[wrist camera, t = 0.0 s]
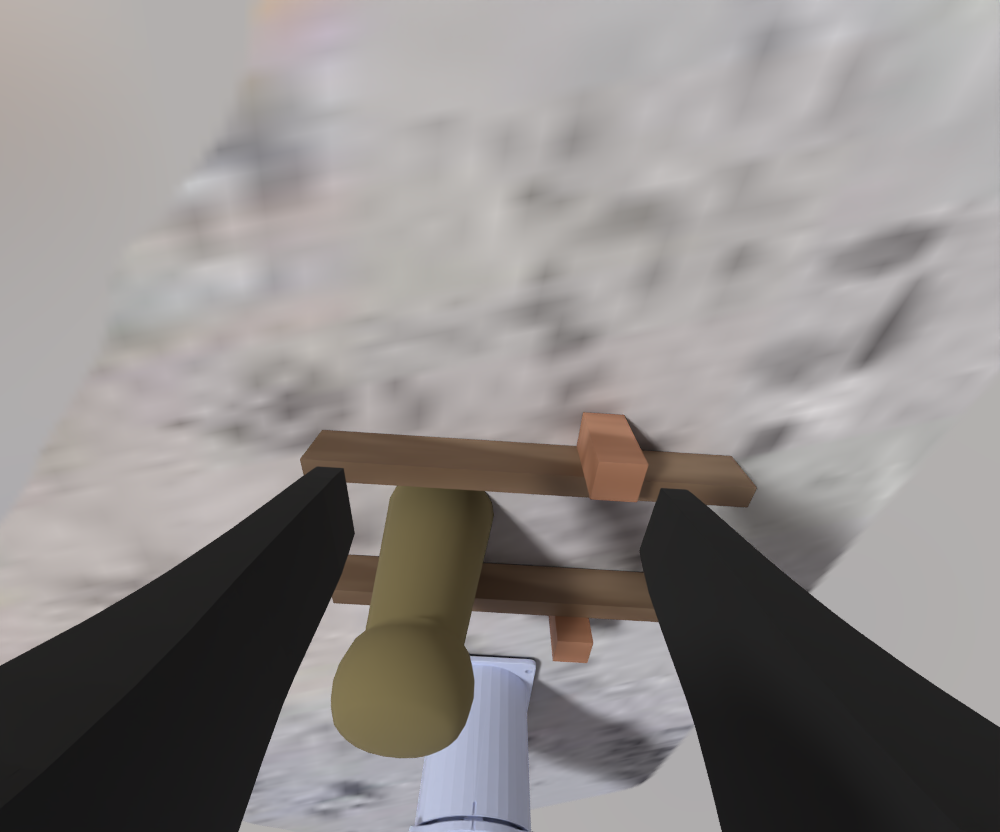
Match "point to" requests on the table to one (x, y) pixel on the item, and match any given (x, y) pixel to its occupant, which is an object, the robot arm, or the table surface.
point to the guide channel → (534, 470)
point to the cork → (416, 627)
